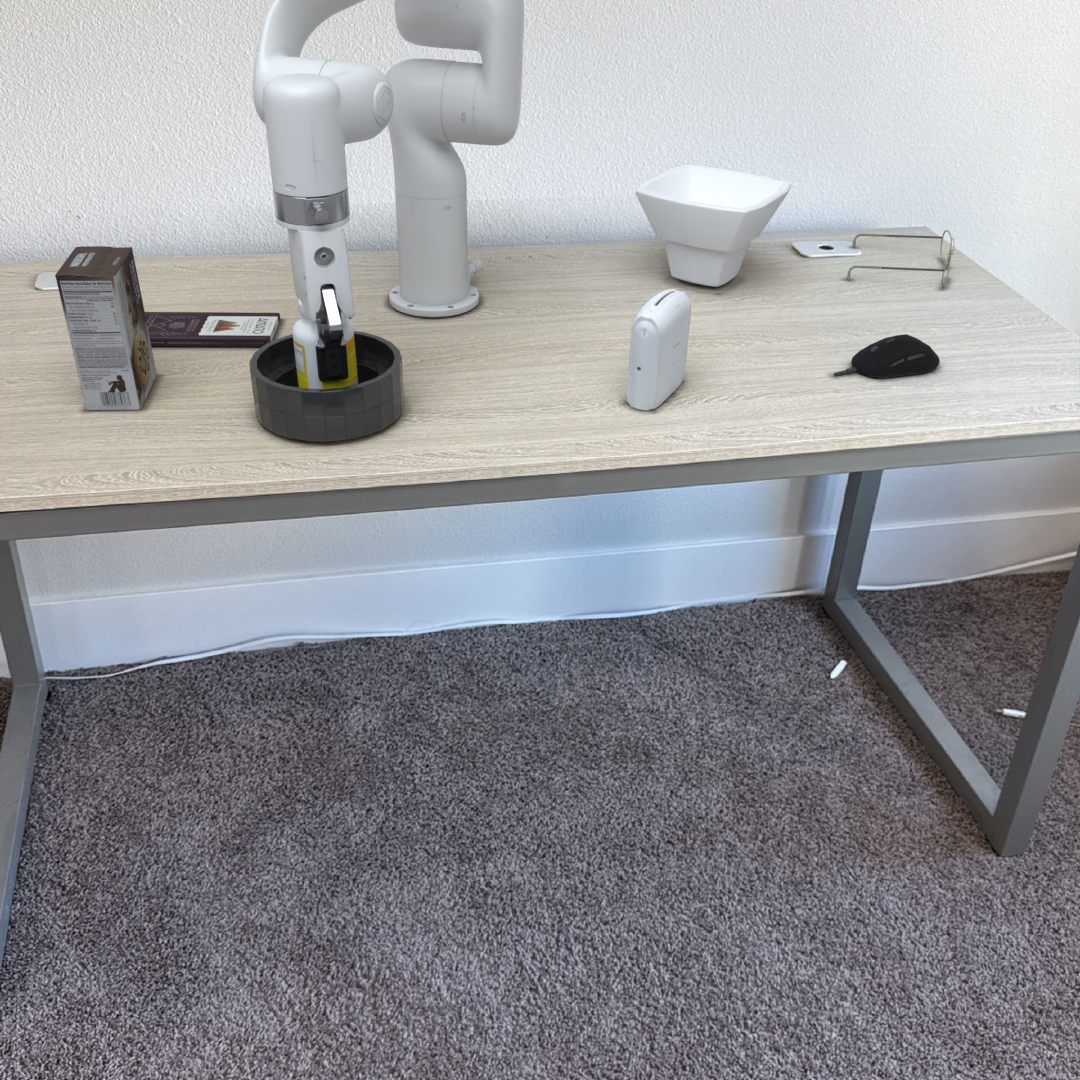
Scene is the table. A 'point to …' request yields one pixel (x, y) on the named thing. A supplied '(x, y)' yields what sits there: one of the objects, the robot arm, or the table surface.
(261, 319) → the chocolate bar
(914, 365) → the gaming mouse
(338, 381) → the supplement bottle
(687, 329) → the photo printer
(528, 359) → the table surface
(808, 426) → the table surface
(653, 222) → the bowl
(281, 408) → the black bowl
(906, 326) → the table surface
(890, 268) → the eyeglasses
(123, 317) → the coffee box
